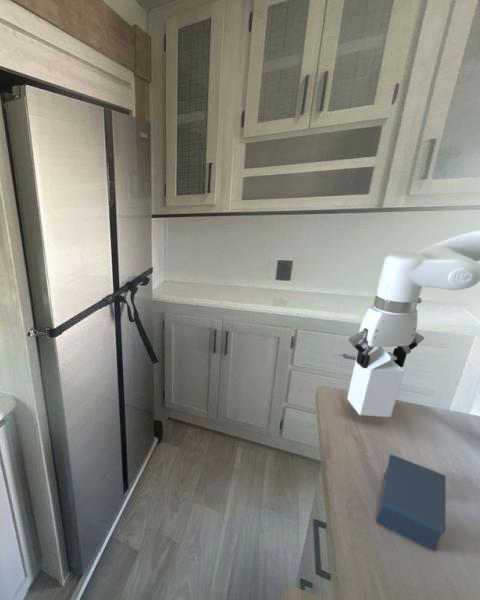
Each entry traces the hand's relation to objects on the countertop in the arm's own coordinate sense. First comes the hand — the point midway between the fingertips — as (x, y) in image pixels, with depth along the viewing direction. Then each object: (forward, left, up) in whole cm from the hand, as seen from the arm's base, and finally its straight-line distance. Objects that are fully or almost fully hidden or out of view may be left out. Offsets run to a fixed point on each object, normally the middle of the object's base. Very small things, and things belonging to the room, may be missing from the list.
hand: (379, 364), depth 87 cm
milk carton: (0, 0, -15) cm, 15 cm away
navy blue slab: (+9, +27, -17) cm, 34 cm away
